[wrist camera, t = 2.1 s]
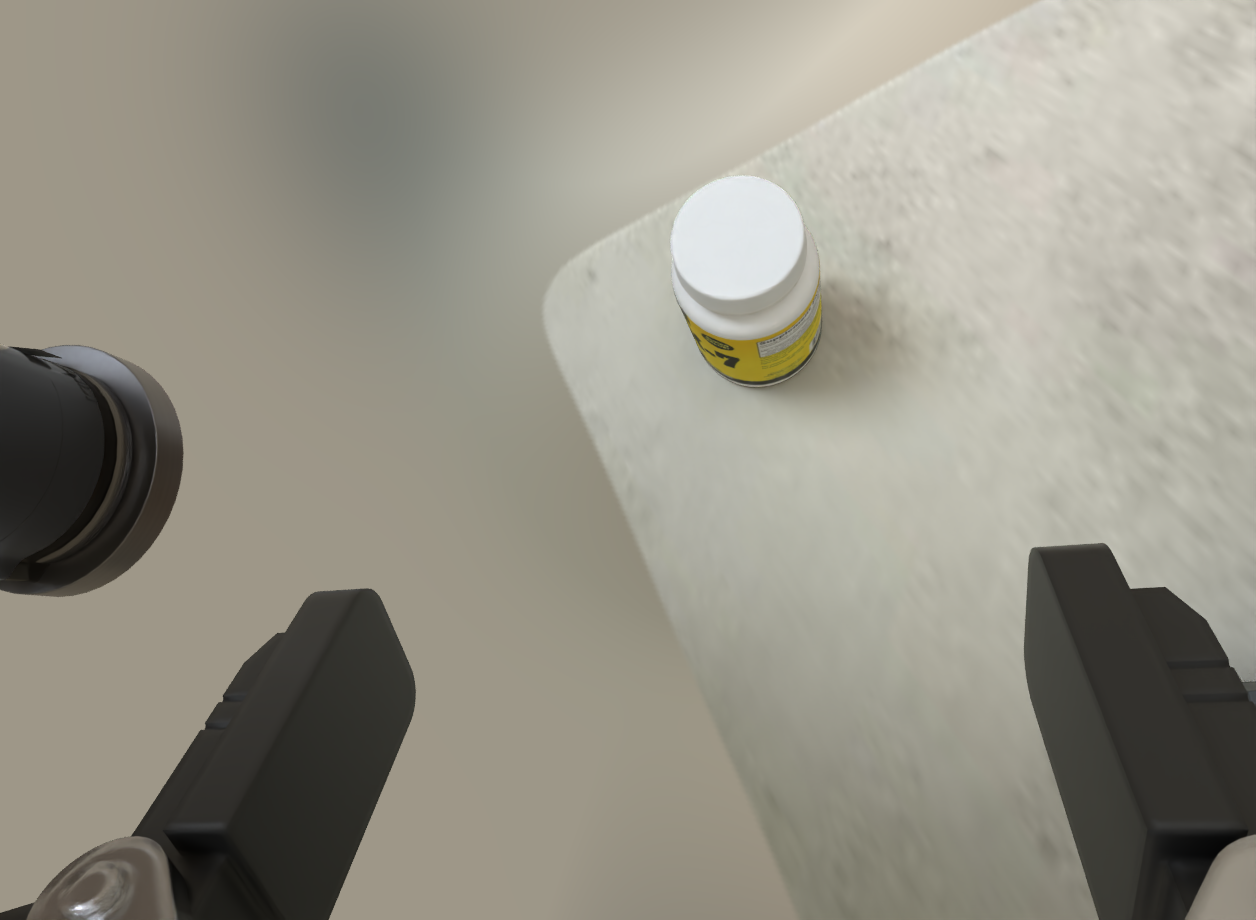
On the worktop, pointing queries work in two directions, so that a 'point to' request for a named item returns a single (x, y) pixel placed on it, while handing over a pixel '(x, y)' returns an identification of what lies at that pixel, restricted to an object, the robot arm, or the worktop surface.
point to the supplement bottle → (747, 280)
